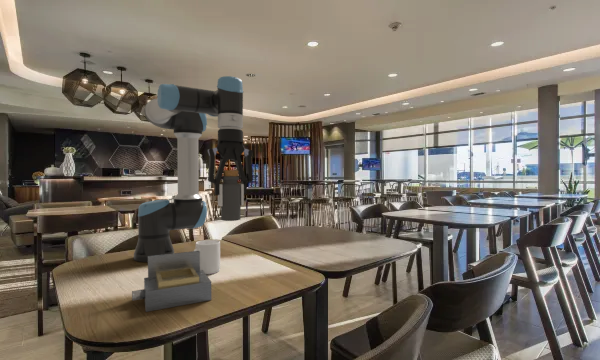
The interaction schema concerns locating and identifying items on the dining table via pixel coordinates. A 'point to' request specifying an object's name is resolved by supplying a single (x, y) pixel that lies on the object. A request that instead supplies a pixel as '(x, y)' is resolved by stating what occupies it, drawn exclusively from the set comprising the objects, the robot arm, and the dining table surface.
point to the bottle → (231, 197)
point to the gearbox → (174, 281)
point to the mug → (209, 255)
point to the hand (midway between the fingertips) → (230, 205)
